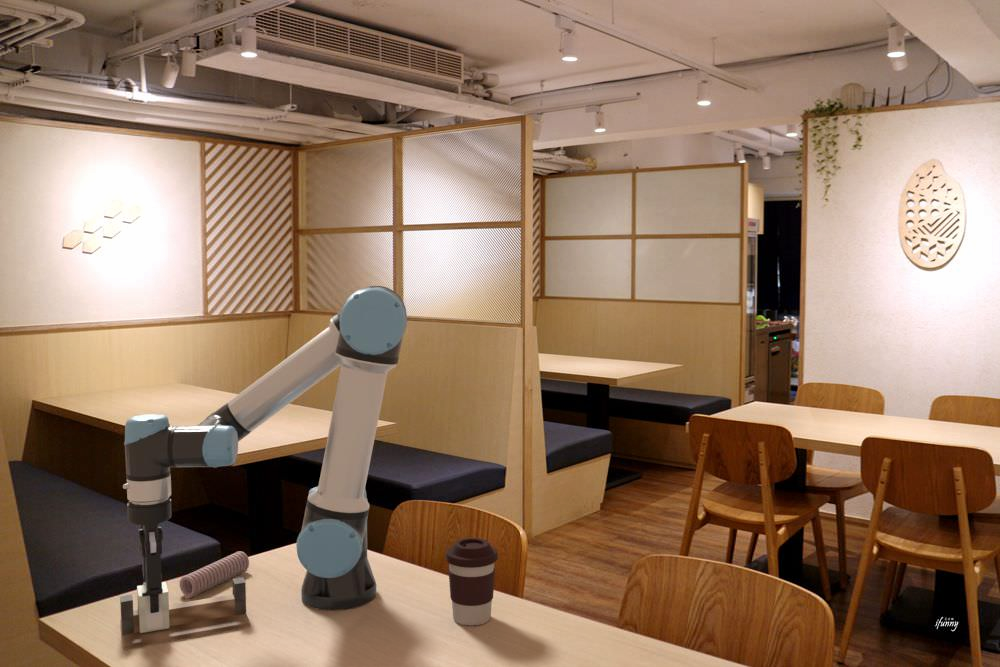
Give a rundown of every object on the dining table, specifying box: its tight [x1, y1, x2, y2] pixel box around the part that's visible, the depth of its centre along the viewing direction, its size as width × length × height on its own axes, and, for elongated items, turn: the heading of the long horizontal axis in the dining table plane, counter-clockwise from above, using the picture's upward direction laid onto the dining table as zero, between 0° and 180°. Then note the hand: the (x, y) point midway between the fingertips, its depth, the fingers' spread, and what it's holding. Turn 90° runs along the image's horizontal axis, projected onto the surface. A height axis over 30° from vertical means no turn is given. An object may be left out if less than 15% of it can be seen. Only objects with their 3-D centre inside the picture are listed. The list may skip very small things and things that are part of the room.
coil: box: [179, 551, 250, 600], centre depth 184 cm, size 5×5×18 cm
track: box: [119, 576, 251, 650], centre depth 163 cm, size 22×12×7 cm, turn 116°
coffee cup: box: [445, 537, 499, 627], centre depth 166 cm, size 10×10×15 cm
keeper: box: [136, 581, 170, 633], centre depth 160 cm, size 5×6×7 cm
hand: (153, 621), depth 161 cm, fingers closed on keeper, 6 cm apart
